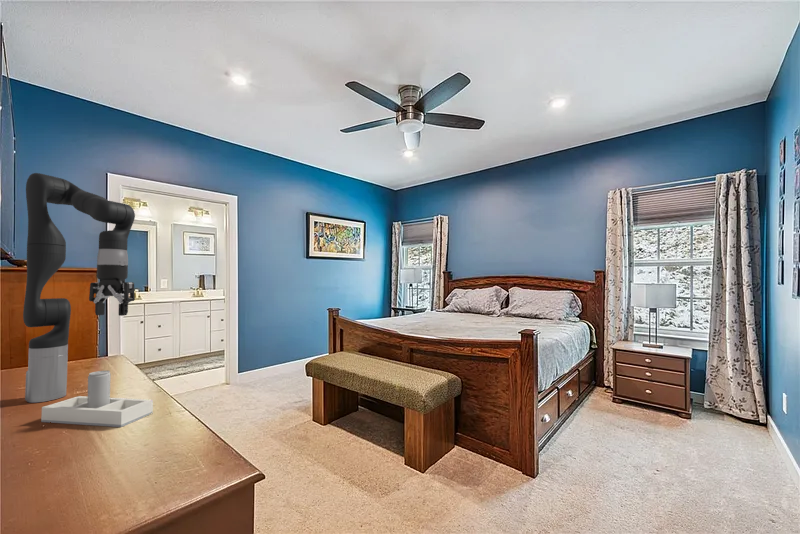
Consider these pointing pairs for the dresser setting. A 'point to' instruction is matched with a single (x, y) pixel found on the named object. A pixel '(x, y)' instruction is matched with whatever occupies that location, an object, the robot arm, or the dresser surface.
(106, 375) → the beverage can
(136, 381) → the dresser surface
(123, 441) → the dresser surface
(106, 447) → the dresser surface
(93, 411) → the can caddy
